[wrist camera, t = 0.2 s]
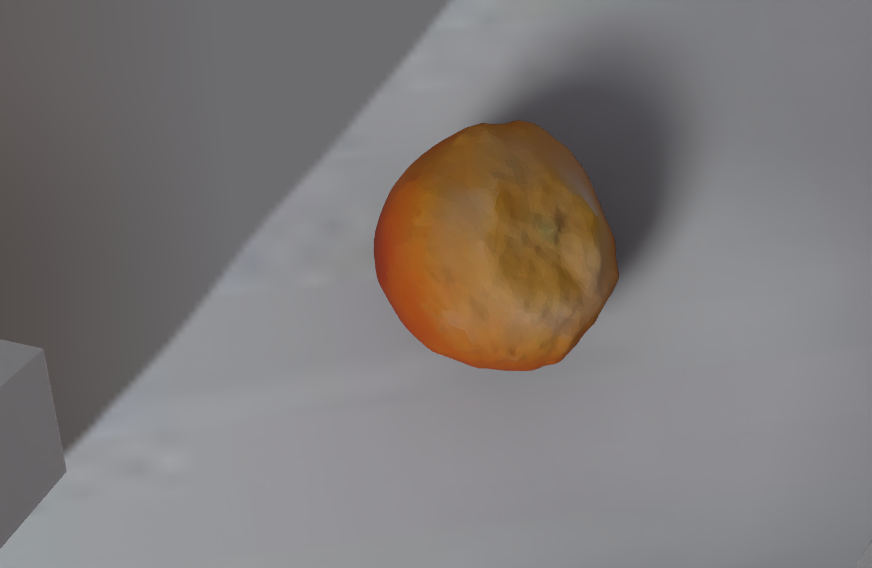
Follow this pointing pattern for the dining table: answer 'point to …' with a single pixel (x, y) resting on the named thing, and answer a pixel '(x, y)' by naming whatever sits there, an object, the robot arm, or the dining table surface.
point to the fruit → (496, 248)
